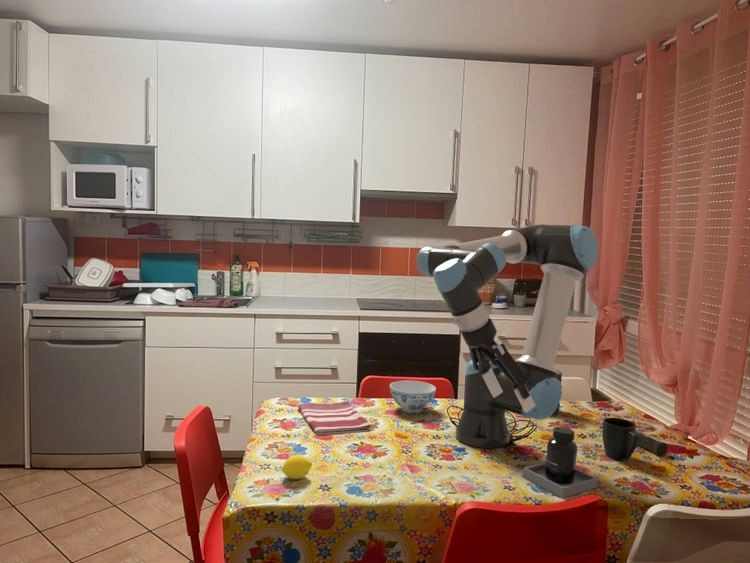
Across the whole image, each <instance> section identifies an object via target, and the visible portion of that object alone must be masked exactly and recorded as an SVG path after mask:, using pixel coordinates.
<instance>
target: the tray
mask: <svg viewBox="0 0 750 563" xmlns="http://www.w3.org/2000/svg"><path fill="white" fill-rule="evenodd" d="M545 466H546V462H542V463H538V464H533V465H530V466H525V467H523V468H522V475H521V476H522V477H523V478H524V479H526V480H527V481H530V482H532V483H534V484H535V485H537V486H539V487H540V488H543V489H544V490H547V491H549V492H550V493H552V494H554V495H555V496H558V497H559V498H567V497H569V496H570V497H571V496H574V495H576V494H580V493H584V492H587V491H591V490H594V489H593V488H595V489H597V488H596V487H599V477H595V476H593V475H591V474H590V473H587V472H585V471H582V470H580V469H579V468H577V467H576V468H575V477H574V481H573V482H572V483H569V484H560V483H556V482H553V481H551V480H549V479H548V478H547V477H546V476H545Z"/></svg>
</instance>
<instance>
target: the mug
mask: <svg viewBox="0 0 750 563" xmlns="http://www.w3.org/2000/svg"><path fill="white" fill-rule="evenodd" d="M636 430H637V424H636V423H635V422H634V421H631V420H628V419H624V418H619V417H605V418H604V419H603V420H602V431H601V432H602V443H603V448H604V451H605V452H604V453H605V456H606V457H607V458H610V459H612V460H615V461H627V460H629V459H630V458H631V457H632V455H633V453H634V452H635V450H636V448H638V446H639V445H638V443H639V435H638V434H637V433H635V432H637V431H636Z"/></svg>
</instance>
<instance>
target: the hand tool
mask: <svg viewBox="0 0 750 563" xmlns="http://www.w3.org/2000/svg"><path fill="white" fill-rule="evenodd" d="M635 433H637V434H638V435H639V443H638V445H637V446H639V447H641V448H643V449H645V450H647V451H648V452H649V451H650V452H652V453H655V455H656V457H663V456H666V455H667V453H668V452H667V451H668V444H667V443H666V442H663V441H662V442H661V441H659V440H656V439H655V438H652V437H650V436H648V435H644V434H642V433H640V432H637V431H636V432H635Z"/></svg>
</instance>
